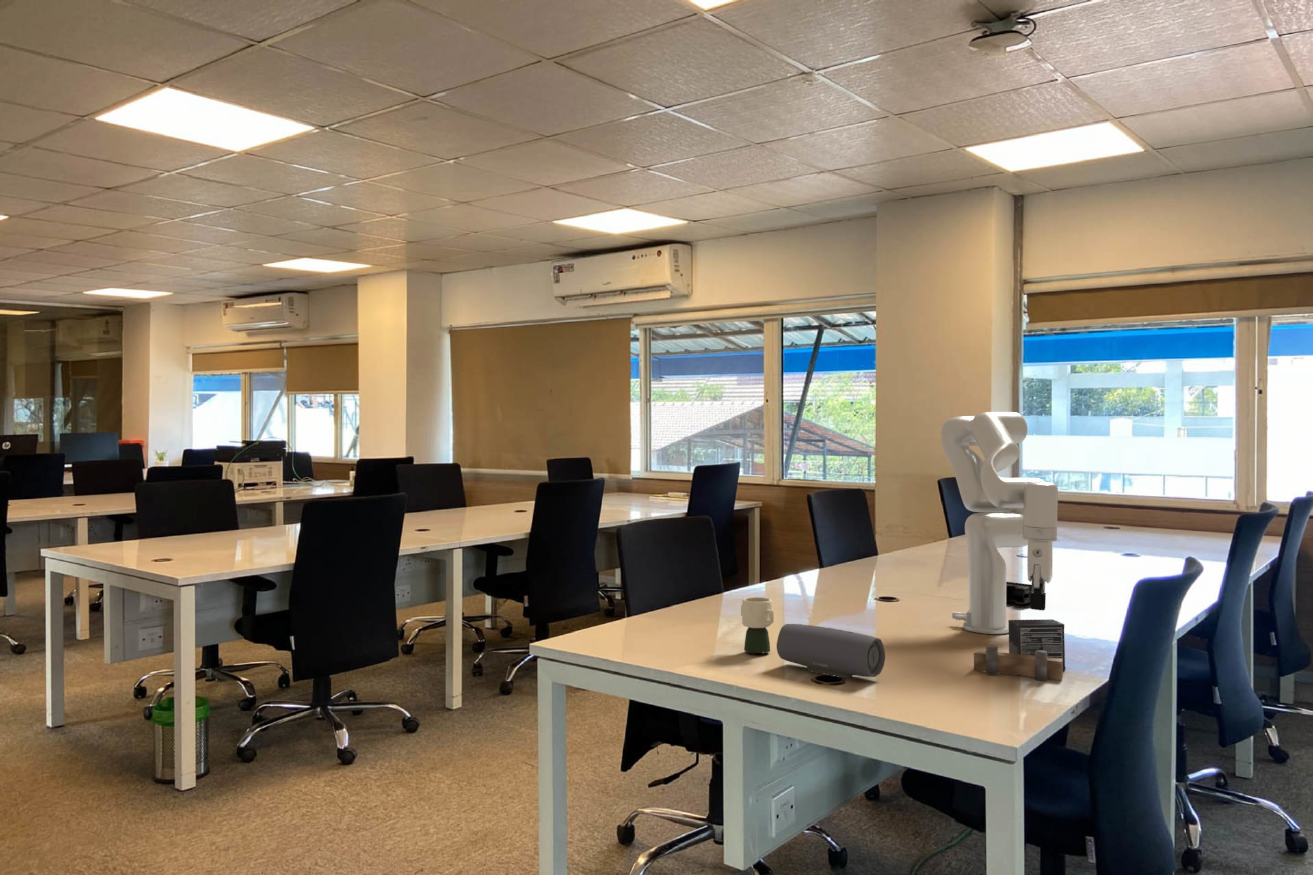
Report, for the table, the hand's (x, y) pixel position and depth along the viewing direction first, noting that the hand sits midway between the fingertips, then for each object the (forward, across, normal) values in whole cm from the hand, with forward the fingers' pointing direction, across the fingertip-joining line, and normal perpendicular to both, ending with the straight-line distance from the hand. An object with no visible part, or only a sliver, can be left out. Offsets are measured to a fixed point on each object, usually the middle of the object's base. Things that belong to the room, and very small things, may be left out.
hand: (1037, 608), depth 218 cm
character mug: (+11, -31, +60) cm, 68 cm away
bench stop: (+10, -24, +2) cm, 26 cm away
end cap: (+14, +62, +11) cm, 65 cm away
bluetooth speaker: (+10, -40, +39) cm, 57 cm away
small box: (+10, -15, -1) cm, 18 cm away
